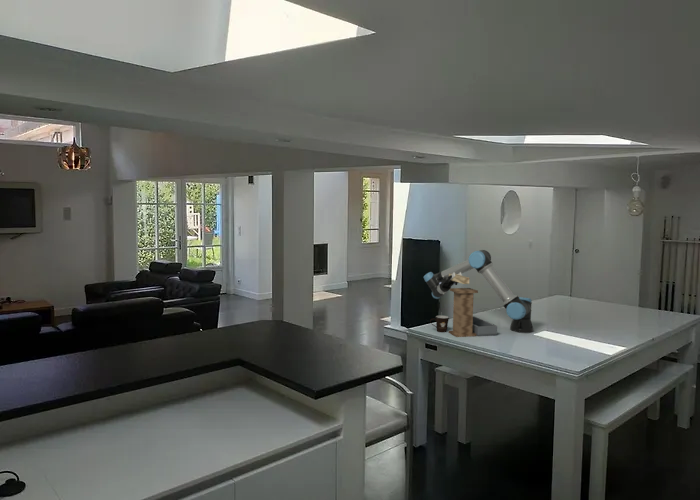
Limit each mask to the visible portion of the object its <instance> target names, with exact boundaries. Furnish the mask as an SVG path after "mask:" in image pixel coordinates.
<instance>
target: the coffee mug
mask: <svg viewBox="0 0 700 500" xmlns="http://www.w3.org/2000/svg"><path fill="white" fill-rule="evenodd" d="M433 320H434V321H435V322H436V325H435V324H433V323H432V321H433ZM449 320H450V318H449V316H448V315H436V316H435V317H434V318H433V317H432V318H431V319H430V324H431V325H432V326H433V327H435V328H436V332H438V333H447V331H448V325H449Z"/></svg>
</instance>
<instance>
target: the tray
mask: <svg viewBox="0 0 700 500" xmlns="http://www.w3.org/2000/svg"><path fill="white" fill-rule="evenodd" d="M472 332H473V333H476V336H475V337H486V336H487V337H488V336H498V325H495V324H493V323H491V322H489V321H486V320H484V319H482V318H480V317H477V316H474V315H473V326H472Z"/></svg>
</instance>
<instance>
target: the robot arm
mask: <svg viewBox="0 0 700 500" xmlns="http://www.w3.org/2000/svg"><path fill="white" fill-rule="evenodd" d="M473 269H474V270H475V271H476V272H477V273H478V274H481V275H482V276H483V277H484V278H485V280H486V281H487V282H488V284H489V286H491V288H492V290H493V291H494V292H495V293H496V294H497V296H498V297H499V298H500V301H502V303H503V305H502V306H503V308H504V309H505V311H506V312H505V313H506V314H507V316H508V317H509V318H510V319H511V320H512V321H511V323H510V326H509V330H511V331H512V332H516V333H525V334H526V333H532V332H534V326H533V323H532V303H533V301H532V299H531V297H522V296H518V295H517V294H514V293H513V291H512V290H511V289H510V288H509V286H508V285H507V283H506V282H505V281H504V280H503V278H502V277H501V276H500V274H499V273H498V272H497V271H496V269H495V268H494V267H493V262H492V255H491V253H490V252H489V251H487V250H485V249H479V250H474V251H473V252H471V254H470V255H469V256H468V259H466V260H464V261H462V262H459V263H457V264H454V265H453V266H450V267H449V268H445V269H444V270H442V271H439V272H437V273H433V272H432V271H429V272H427V273H425V275H424V276H423V279H424V282H426V285H428V288H429V289H430V290H431V296H432V298H433V299H436V300H439V299H440V298H442V297H443V296H444V295H445V294H446V293H448V291H450V288H452V286H454V285H455V286H457V285H458V284H460V283H459V282H455V281H452V279H453V278H454V277H455V274H458V275H461V276H463V274H464V273H466V272H468V271H471V270H473ZM449 274H452V275H450V276H449Z"/></svg>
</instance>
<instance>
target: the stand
mask: <svg viewBox="0 0 700 500" xmlns="http://www.w3.org/2000/svg"><path fill="white" fill-rule="evenodd" d="M449 291H450V292H453V306H452V307H453V310H452V311H453V313H452V330H448V334H449V335H452V336H454V337H455V338H467V337H477V336H476V333H473V332H472V326H473V316H474V294H478V293H479V290H477V289H474V288H471V287H456V288H455V287H454V288H453V287H451V288H450V290H449Z"/></svg>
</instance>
